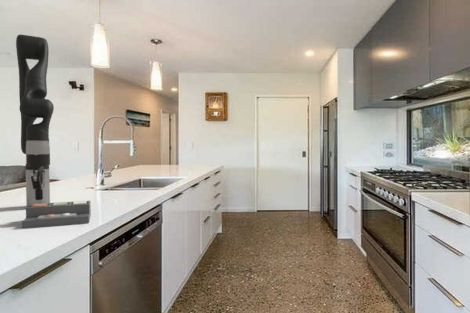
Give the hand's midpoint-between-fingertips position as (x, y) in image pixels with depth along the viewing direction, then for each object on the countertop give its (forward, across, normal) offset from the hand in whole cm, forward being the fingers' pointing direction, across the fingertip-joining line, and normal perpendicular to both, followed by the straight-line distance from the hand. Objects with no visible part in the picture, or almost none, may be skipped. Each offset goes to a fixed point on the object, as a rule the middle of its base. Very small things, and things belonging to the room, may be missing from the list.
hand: (39, 199), depth 119 cm
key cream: (+4, 0, +14) cm, 14 cm away
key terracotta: (+4, 0, 0) cm, 4 cm away
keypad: (+8, +2, +7) cm, 11 cm away
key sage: (+4, 0, +7) cm, 8 cm away
